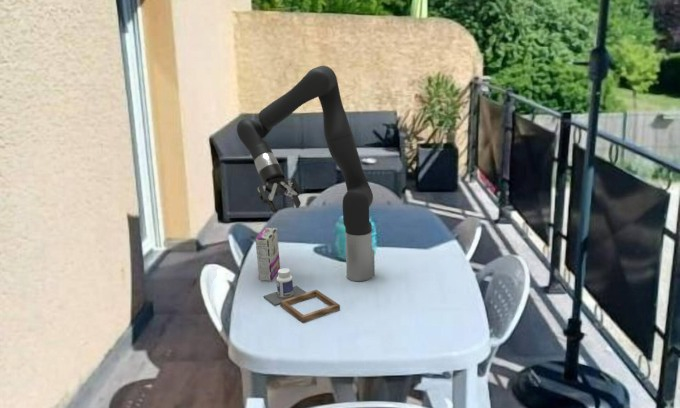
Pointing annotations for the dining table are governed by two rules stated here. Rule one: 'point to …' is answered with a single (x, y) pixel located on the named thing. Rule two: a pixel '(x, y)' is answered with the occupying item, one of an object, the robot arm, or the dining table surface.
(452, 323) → the dining table surface
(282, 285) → the pill bottle
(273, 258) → the candy bar box
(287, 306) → the walnut frame
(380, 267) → the dining table surface
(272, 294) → the charcoal mat
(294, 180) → the robot arm
